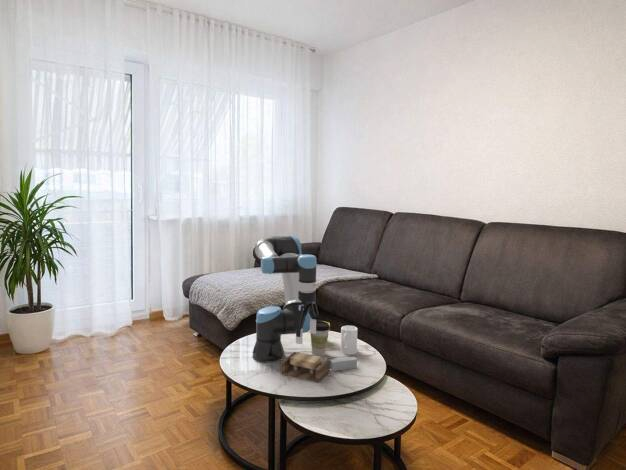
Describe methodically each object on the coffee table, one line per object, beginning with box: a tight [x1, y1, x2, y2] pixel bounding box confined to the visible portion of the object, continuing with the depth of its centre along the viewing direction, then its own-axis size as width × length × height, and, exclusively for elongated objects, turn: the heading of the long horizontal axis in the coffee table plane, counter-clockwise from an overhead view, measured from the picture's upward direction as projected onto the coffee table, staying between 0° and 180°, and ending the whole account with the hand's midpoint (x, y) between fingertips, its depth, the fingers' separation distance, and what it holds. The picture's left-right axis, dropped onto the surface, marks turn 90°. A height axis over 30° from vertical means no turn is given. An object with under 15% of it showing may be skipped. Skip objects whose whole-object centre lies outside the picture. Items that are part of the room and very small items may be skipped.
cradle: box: [280, 351, 331, 383], centre depth 186 cm, size 18×12×6 cm, turn 65°
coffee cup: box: [310, 320, 331, 357], centre depth 207 cm, size 10×10×15 cm
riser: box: [330, 356, 358, 372], centre depth 191 cm, size 12×3×4 cm, turn 110°
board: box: [290, 351, 323, 370], centre depth 186 cm, size 12×7×3 cm, turn 65°
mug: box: [339, 325, 358, 356], centre depth 209 cm, size 12×8×12 cm
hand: (306, 338), depth 185 cm, fingers open, 13 cm apart
